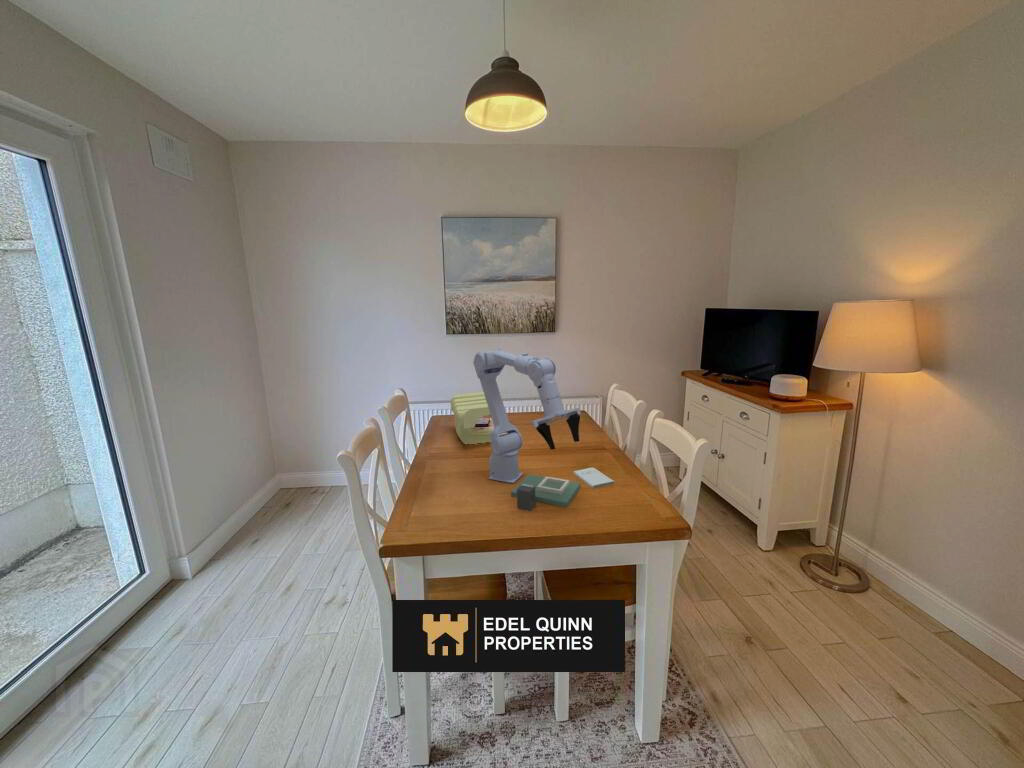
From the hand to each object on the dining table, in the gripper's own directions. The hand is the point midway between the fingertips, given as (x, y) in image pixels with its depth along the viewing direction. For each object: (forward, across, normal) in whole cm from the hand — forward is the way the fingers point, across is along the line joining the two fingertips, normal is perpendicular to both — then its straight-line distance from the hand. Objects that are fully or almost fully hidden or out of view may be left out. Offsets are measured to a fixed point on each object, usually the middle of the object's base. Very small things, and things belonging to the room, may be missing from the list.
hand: (565, 445), depth 114 cm
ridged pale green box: (-10, -12, +70) cm, 72 cm away
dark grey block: (+14, -13, +10) cm, 22 cm away
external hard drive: (+15, +14, +20) cm, 29 cm away
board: (+13, -4, +17) cm, 21 cm away
